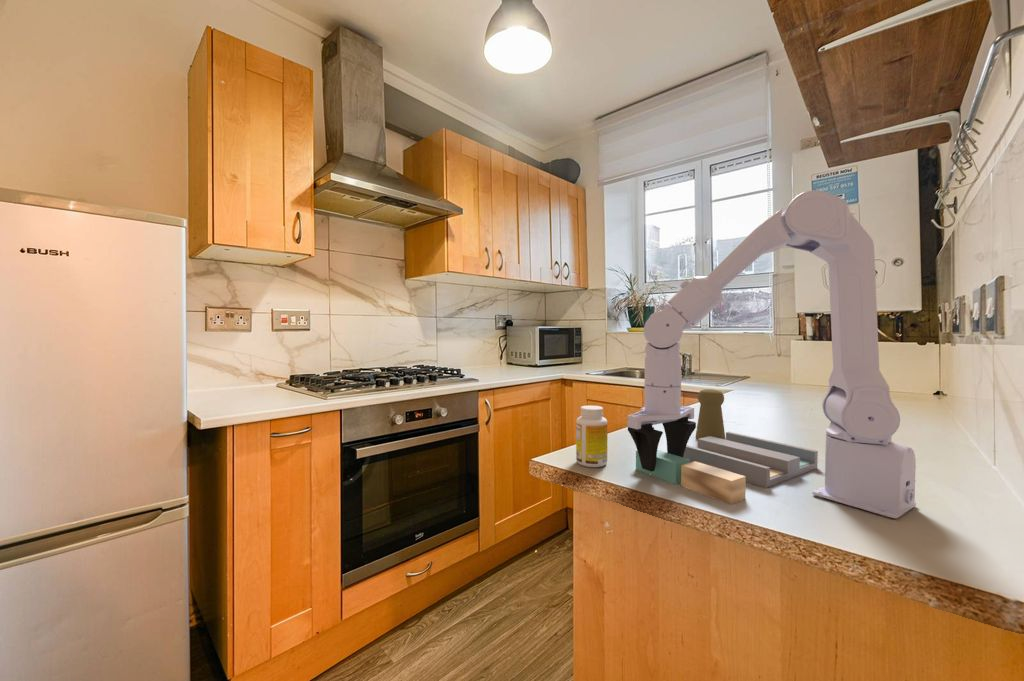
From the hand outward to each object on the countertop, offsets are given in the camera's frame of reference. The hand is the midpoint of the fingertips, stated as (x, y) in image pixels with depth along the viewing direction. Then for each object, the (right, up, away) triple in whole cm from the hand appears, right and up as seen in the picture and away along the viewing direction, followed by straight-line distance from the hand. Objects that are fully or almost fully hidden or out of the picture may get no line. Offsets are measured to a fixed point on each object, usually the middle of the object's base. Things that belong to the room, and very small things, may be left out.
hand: (661, 465), depth 70 cm
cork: (+18, -1, +22) cm, 28 cm away
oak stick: (+5, -2, -8) cm, 9 cm away
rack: (+17, -1, +5) cm, 18 cm away
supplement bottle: (-11, -2, +6) cm, 12 cm away
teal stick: (0, -2, 0) cm, 2 cm away
